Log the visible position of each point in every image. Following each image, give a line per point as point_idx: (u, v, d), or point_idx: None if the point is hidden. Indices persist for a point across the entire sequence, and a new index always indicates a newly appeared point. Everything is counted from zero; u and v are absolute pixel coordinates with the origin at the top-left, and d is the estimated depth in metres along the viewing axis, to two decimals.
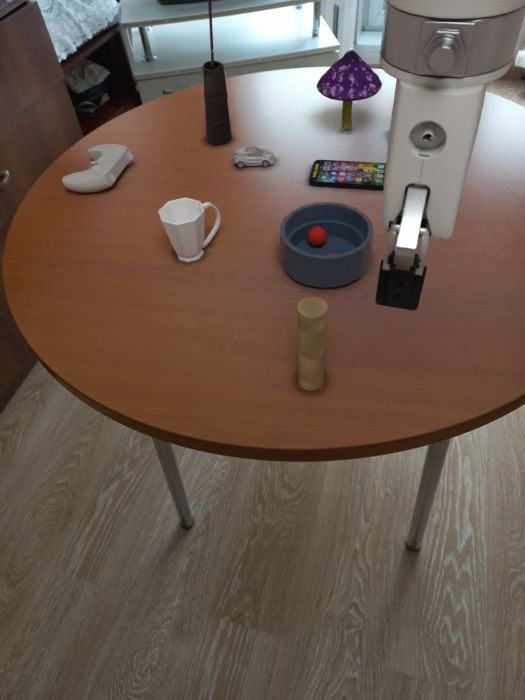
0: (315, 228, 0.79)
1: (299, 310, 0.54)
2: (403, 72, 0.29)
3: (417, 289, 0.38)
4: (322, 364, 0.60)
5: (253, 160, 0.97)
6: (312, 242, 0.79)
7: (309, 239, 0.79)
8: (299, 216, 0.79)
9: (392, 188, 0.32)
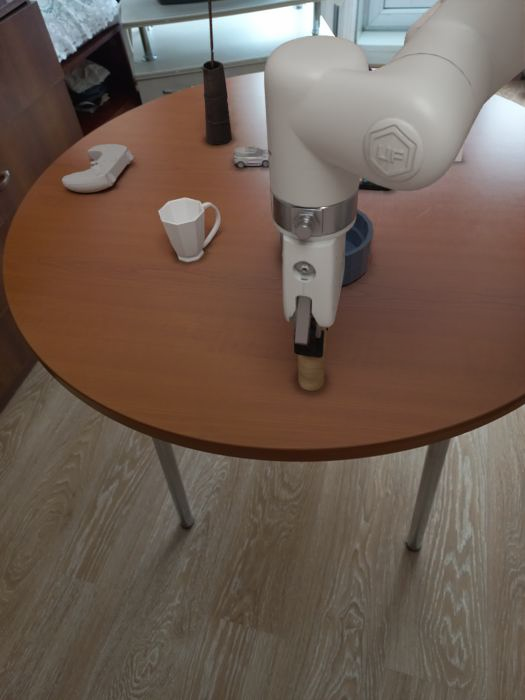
0: None
1: None
2: (284, 230, 0.44)
3: (320, 344, 0.56)
4: (322, 364, 0.60)
5: (253, 160, 0.97)
6: None
7: None
8: None
9: (287, 297, 0.48)
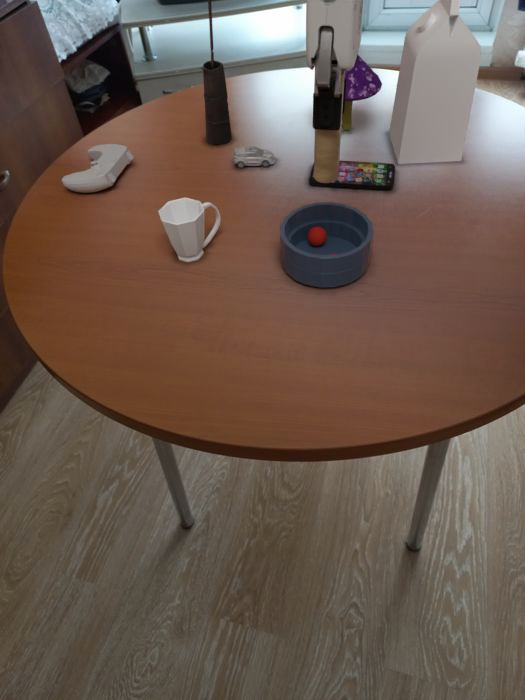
0: (315, 228, 0.79)
1: None
2: None
3: (338, 112, 0.59)
4: (338, 148, 0.64)
5: (253, 160, 0.97)
6: (312, 242, 0.79)
7: (309, 239, 0.79)
8: (299, 216, 0.79)
9: (310, 31, 0.51)
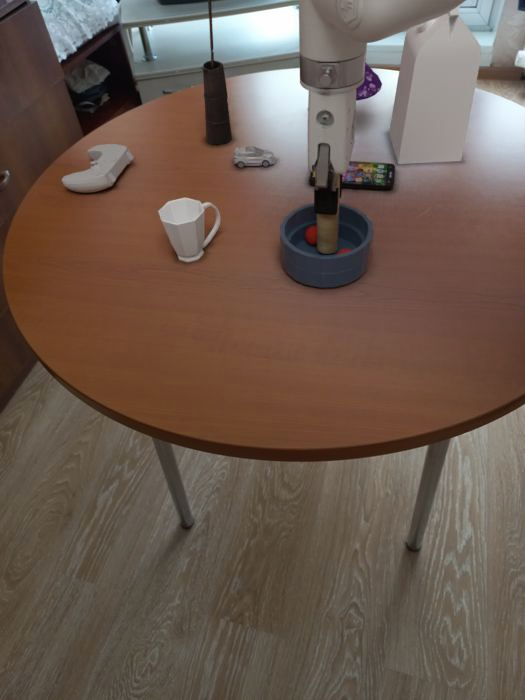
0: (311, 227, 0.79)
1: None
2: (310, 87, 0.59)
3: (335, 201, 0.70)
4: (336, 226, 0.75)
5: (253, 160, 0.97)
6: (310, 240, 0.79)
7: (306, 238, 0.80)
8: (299, 216, 0.79)
9: (311, 146, 0.62)
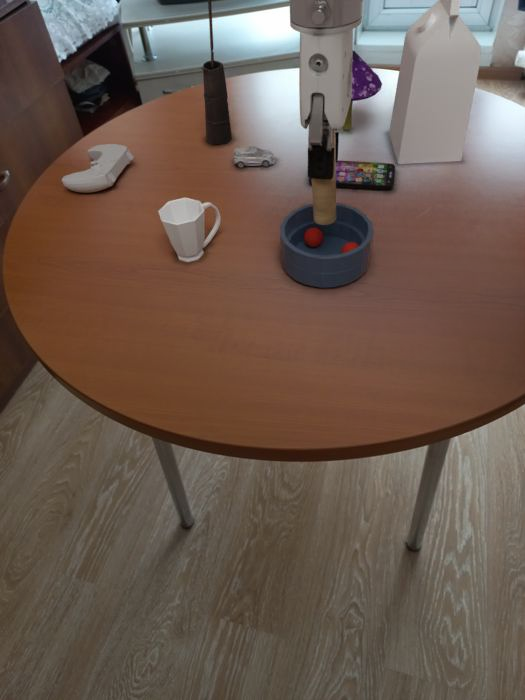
0: (312, 229, 0.79)
1: None
2: (301, 27, 0.52)
3: (330, 163, 0.64)
4: (333, 193, 0.68)
5: (253, 160, 0.97)
6: (306, 242, 0.79)
7: (304, 239, 0.80)
8: (299, 216, 0.79)
9: (303, 97, 0.56)
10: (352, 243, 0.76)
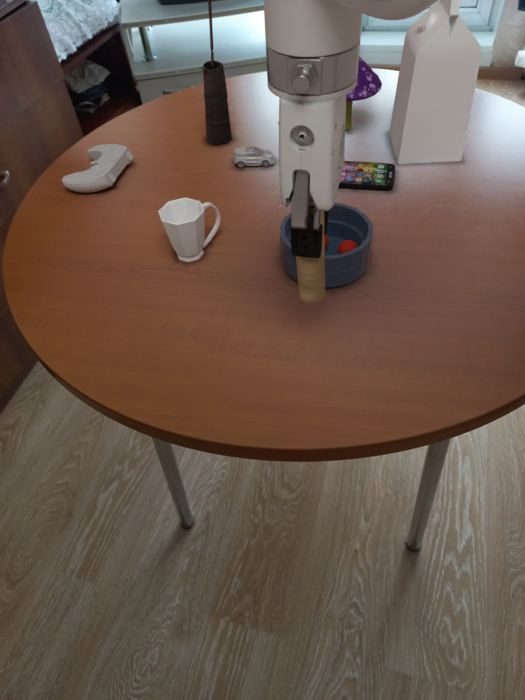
0: None
1: None
2: (280, 92, 0.42)
3: (318, 241, 0.53)
4: (321, 270, 0.58)
5: (253, 160, 0.97)
6: None
7: None
8: None
9: (284, 174, 0.45)
10: (346, 240, 0.77)
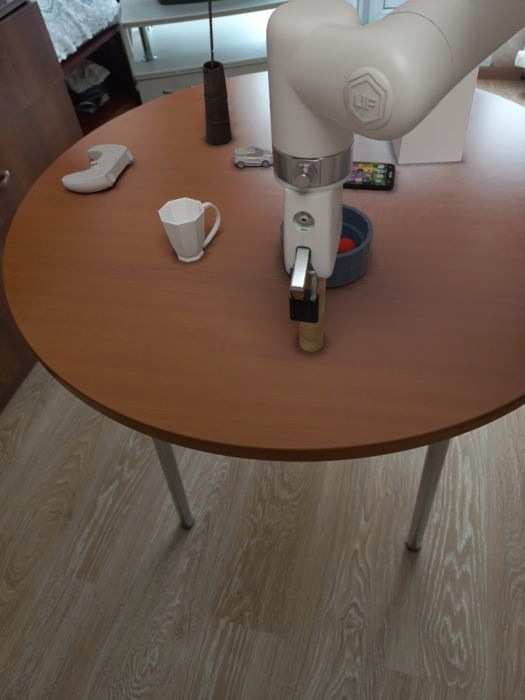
0: None
1: None
2: (285, 183, 0.48)
3: (315, 309, 0.56)
4: (321, 325, 0.64)
5: (253, 160, 0.97)
6: None
7: None
8: None
9: (288, 248, 0.51)
10: (341, 239, 0.78)
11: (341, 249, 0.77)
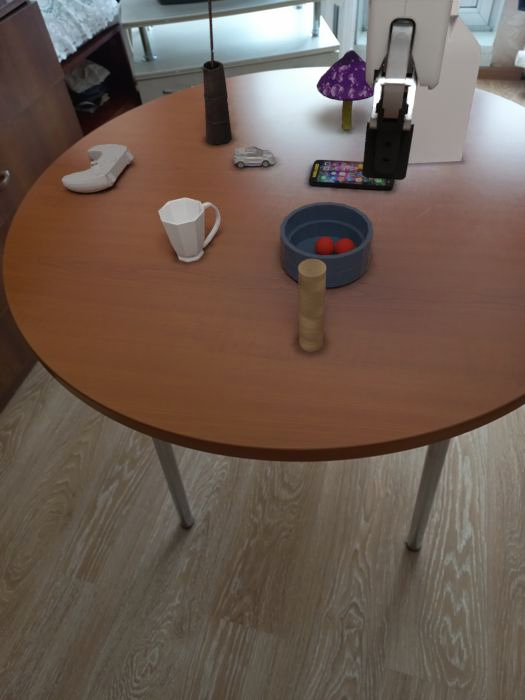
0: (330, 253, 0.78)
1: (300, 270, 0.59)
2: None
3: (405, 152, 0.37)
4: (321, 325, 0.64)
5: (253, 160, 0.97)
6: (316, 251, 0.78)
7: (318, 250, 0.77)
8: (299, 216, 0.79)
9: (376, 28, 0.31)
10: None
11: (340, 250, 0.77)
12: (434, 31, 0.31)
